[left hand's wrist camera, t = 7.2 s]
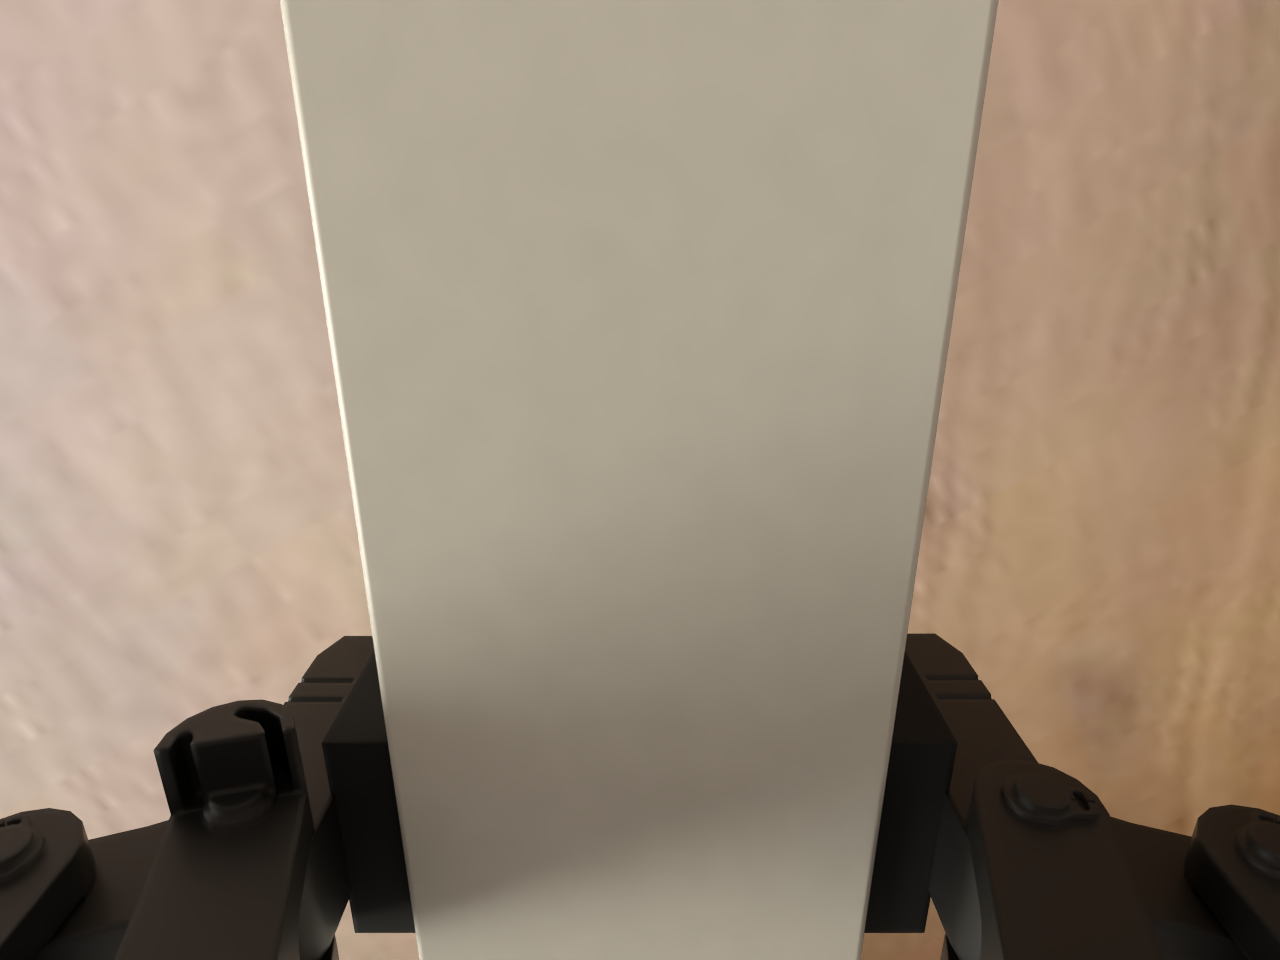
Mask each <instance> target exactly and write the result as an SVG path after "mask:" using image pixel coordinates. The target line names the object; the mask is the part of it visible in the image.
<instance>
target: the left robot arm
mask: <svg viewBox="0 0 1280 960" xmlns="http://www.w3.org/2000/svg"><path fill="white" fill-rule="evenodd" d="M154 754H155V757H156V761H157V765H158V769H159V772H160V776H161V780H162V783H163V787H164V791H165V794H166V798H167V802H168V805H169V809H170V813H171V816H170V819H169V820H167V821H164V822H161V823H157V824H154V825H151V826H147V827H143V828H139V829H134V830H130V831H126V832H121V833H117V834H113V835H108V836H104V837H100V838H95V839H91V840H88V838H87V835H86V832H85V829H84V826H83V823H82V821H81V820H80V819H79V818H78V817H76V816H75V815H74V814H73V813H72V812H70V811H65V810H58V809H52V808H47V809H40V810H33V811H26V812H20V813H17V814H14V815H12V816H8V817H6V818H2V819H0V960H339V956H338V949H337V943H336V938H335V932H336V929H337V927H338V925H339V922H340V920H341V917H342V915H343V912H344V910H345V907H346V905H347V902H348V900H349V901H350V907H351V912H352V918H353V924H354V929H355V933H416V932H415V925H414V918H413V911H412V904H411V897H410V891H409V884H408V877H407V870H406V863H405V856H404V849H403V842H402V836H401V829H400V822H399V815H398V808H397V801H396V794H395V787H394V781H393V774H392V767H391V760H390V753H389V746H388V739H387V732H386V726H385V719H384V712H383V705H382V698H381V691H380V684H379V677H378V671H377V664H376V657H375V650H374V643H373V636H344V637H343V638H341V639H340V640H338V641H337V642H336V643H334V644H333V645H331V646H330V647H329V648H327V649H326V650H324V651H323V652H322V653H320V654H319V655H318V656H317V657H316V658H315V660H314V661H313V663H312V664H311V666H310V667H309V668H308V670H307V671H306V673H305V674H304V676H303V677H302V682H301V683H298V685H297V686H296V687H295V689H294V690H293V692H292V693H291V695H290V696H289V701H288V702H285V703H284V705H282V704H278V703H274V702H270V701H266V700H244V701H236V702H232V703H228V704H224V705H219V706H215V707H212V708H210V709H207V710H205V711H203V712H201V713H199V714H196V715H194V716H192V717H190V718H187V719H186V720H185V721H183V722H182V723H181V724H179V725H178V726H176V727H175V728H174V729H172V730H171V731H169V732H168V733H167V734H166V735H165V736H164V738H163V739H162V740H161V741H160V743H159V744H158V745H157V747H156V748H155V749H154ZM930 897H931V898H932V900H933V903H934V905H935V908H936V910H937V912H938V915H939V917H940V920H941V922H942V925H943V927H944V930H945V932H946V933H945V938H944V943H943V949H942V954H941V959H940V960H1280V816H1279V815H1276V814H1273V813H1270V812H1267V811H1264V810H1261V809H1258V808H1251V807H1244V806H1237V805H1226V806H1219V807H1213V808H1209V809H1208V810H1207V811H1206V812H1205V813H1203V814H1202V815H1201V816H1200V817H1199V818H1198V820H1197V823H1196V826H1195V829H1194V832H1193V835H1192V837H1190V836H1186V835H1181V834H1177V833H1173V832H1168V831H1164V830H1160V829H1155V828H1151V827H1147V826H1142V825H1138V824H1133V823H1130V822H1126V821H1123V820H1120V819H1116V818H1113V817H1110V815H1109V813H1108V812H1107V810H1106V809H1105V807H1104V806H1103V804H1102V803H1101V801H1100V799H1099V798H1098V796H1097V795H1095V794H1094V793H1093V792H1092V791H1091V790H1089V789H1088V788H1087V787H1086V786H1084V785H1083V784H1082V783H1081V782H1080V781H1078V780H1077V779H1075V778H1073V777H1071V776H1069V775H1067V774H1065V773H1063V772H1061V771H1059V770H1057V769H1055V768H1053V767H1050V766H1046V765H1042V764H1039V763H1038V762H1037V761H1036V759H1035V758H1034V756H1033V755H1032V753H1031V752H1030V750H1029V749H1028V748H1027V746H1026V745H1025V743H1024V742H1023V740H1022V739H1021V737H1020V736H1019V734H1018V733H1017V732H1016V730H1015V729H1014V727H1013V726H1012V724H1011V723H1010V721H1009V720H1008V719H1007V717H1006V716H1005V714H1004V713H1003V711H1002V710H1001V708H1000V707H999V706H998V704H997V703H996V701H995V700H994V699H991V694H990V692H989V691H988V690H987V688H986V687H985V685H984V684H983V682H982V681H981V680H978V675H977V674H976V672H975V671H974V669H973V668H972V666H971V665H970V664H969V662H968V661H967V659H966V658H965V656H964V655H963V653H961V652H960V651H959V650H957V649H956V648H954V647H953V646H952V645H950V644H949V643H947V642H946V641H945V640H943V639H942V638H940V637H939V636H938V635H936V634H907V638H906V645H905V652H904V659H903V666H902V673H901V680H900V687H899V694H898V701H897V708H896V715H895V722H894V729H893V736H892V743H891V749H890V756H889V763H888V770H887V777H886V784H885V791H884V798H883V805H882V812H881V819H880V826H879V833H878V840H877V847H876V854H875V861H874V868H873V875H872V881H871V888H870V895H869V902H868V909H867V916H866V923H865V930H864V933H924V931H925V926H926V920H927V914H928V909H929V903H930Z"/></svg>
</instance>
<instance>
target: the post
mask: <svg viewBox="0 0 1280 960" xmlns="http://www.w3.org/2000/svg"><path fill="white" fill-rule="evenodd" d="M280 4H281V11H282V18H283V24H284V31H285V38H286V45H287V52H288V59H289V66H290V73H291V79H292V86H293V93H294V100H295V107H296V114H297V121H298V128H299V134H300V141H301V148H302V155H303V162H304V169H305V176H306V183H307V189H308V196H309V203H310V210H311V217H312V224H313V231H314V238H315V244H316V251H317V258H318V265H319V272H320V279H321V286H322V292H323V299H324V306H325V313H326V320H327V327H328V334H329V341H330V347H331V354H332V361H333V368H334V375H335V382H336V389H337V396H338V402H339V409H340V416H341V423H342V430H343V437H344V444H345V451H346V457H347V464H348V471H349V478H350V485H351V492H352V499H353V506H354V512H355V519H356V526H357V533H358V540H359V547H360V554H361V561H362V567H363V574H364V581H365V588H366V595H367V602H368V609H369V616H370V622H371V629H372V636H373V643H374V650H375V657H376V664H377V671H378V677H379V684H380V691H381V698H382V705H383V712H384V719H385V726H386V732H387V739H388V746H389V753H390V760H391V767H392V774H393V781H394V787H395V794H396V801H397V808H398V815H399V822H400V829H401V836H402V842H403V849H404V856H405V863H406V870H407V877H408V884H409V891H410V897H411V904H412V911H413V918H414V925H415V932H416V939H417V945H418V952H419V959H420V960H860V958H861V951H862V944H863V937H864V930H865V923H866V916H867V909H868V902H869V895H870V888H871V881H872V875H873V868H874V861H875V854H876V847H877V840H878V833H879V826H880V819H881V812H882V805H883V798H884V791H885V784H886V777H887V770H888V763H889V756H890V749H891V743H892V736H893V729H894V722H895V715H896V708H897V701H898V694H899V687H900V680H901V673H902V666H903V659H904V652H905V645H906V638H907V631H908V624H909V617H910V610H911V604H912V597H913V590H914V583H915V576H916V569H917V562H918V555H919V548H920V541H921V534H922V527H923V520H924V513H925V506H926V499H927V492H928V485H929V478H930V472H931V465H932V458H933V451H934V444H935V437H936V430H937V423H938V416H939V409H940V402H941V395H942V388H943V381H944V374H945V367H946V360H947V353H948V346H949V339H950V333H951V326H952V319H953V312H954V305H955V298H956V291H957V284H958V277H959V270H960V263H961V256H962V249H963V242H964V235H965V228H966V221H967V214H968V207H969V201H970V194H971V187H972V180H973V173H974V166H975V159H976V152H977V145H978V138H979V131H980V124H981V117H982V110H983V103H984V96H985V89H986V82H987V75H988V68H989V62H990V55H991V48H992V41H993V34H994V27H995V20H996V13H997V6H998V0H280Z"/></svg>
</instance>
